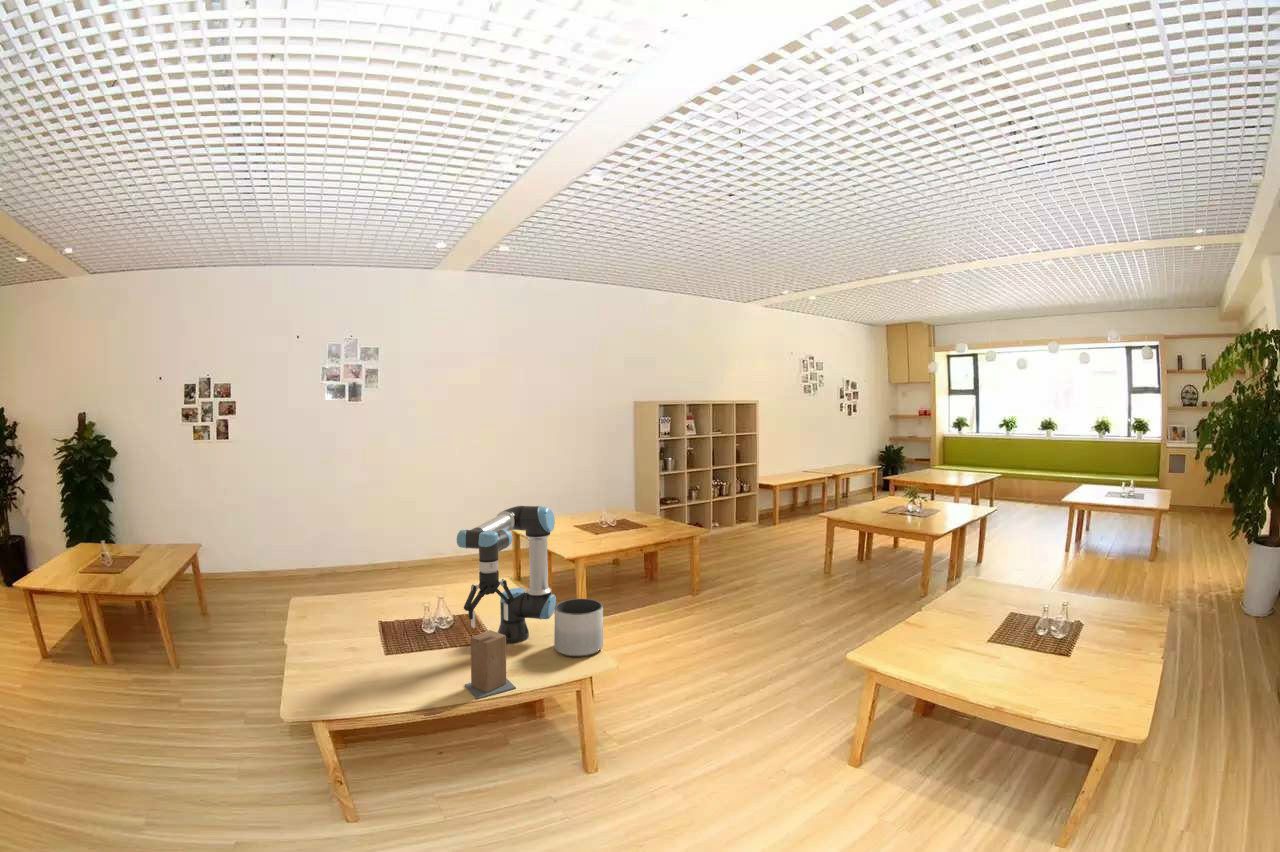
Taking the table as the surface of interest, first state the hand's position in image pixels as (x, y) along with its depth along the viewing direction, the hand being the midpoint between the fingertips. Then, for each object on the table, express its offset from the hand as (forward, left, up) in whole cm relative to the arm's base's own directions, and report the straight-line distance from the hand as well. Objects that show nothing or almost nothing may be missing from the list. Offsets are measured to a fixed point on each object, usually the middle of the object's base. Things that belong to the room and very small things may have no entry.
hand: (489, 623), depth 244 cm
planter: (-14, +48, -26) cm, 56 cm away
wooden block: (0, 0, -26) cm, 26 cm away
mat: (0, 0, -26) cm, 26 cm away
